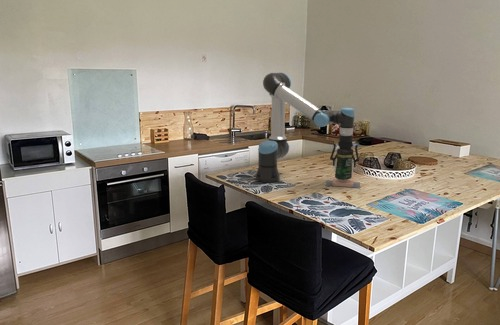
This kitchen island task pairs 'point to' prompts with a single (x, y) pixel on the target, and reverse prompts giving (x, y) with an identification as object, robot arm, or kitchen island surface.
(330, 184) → the mat
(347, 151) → the coffee jar
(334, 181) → the tile
